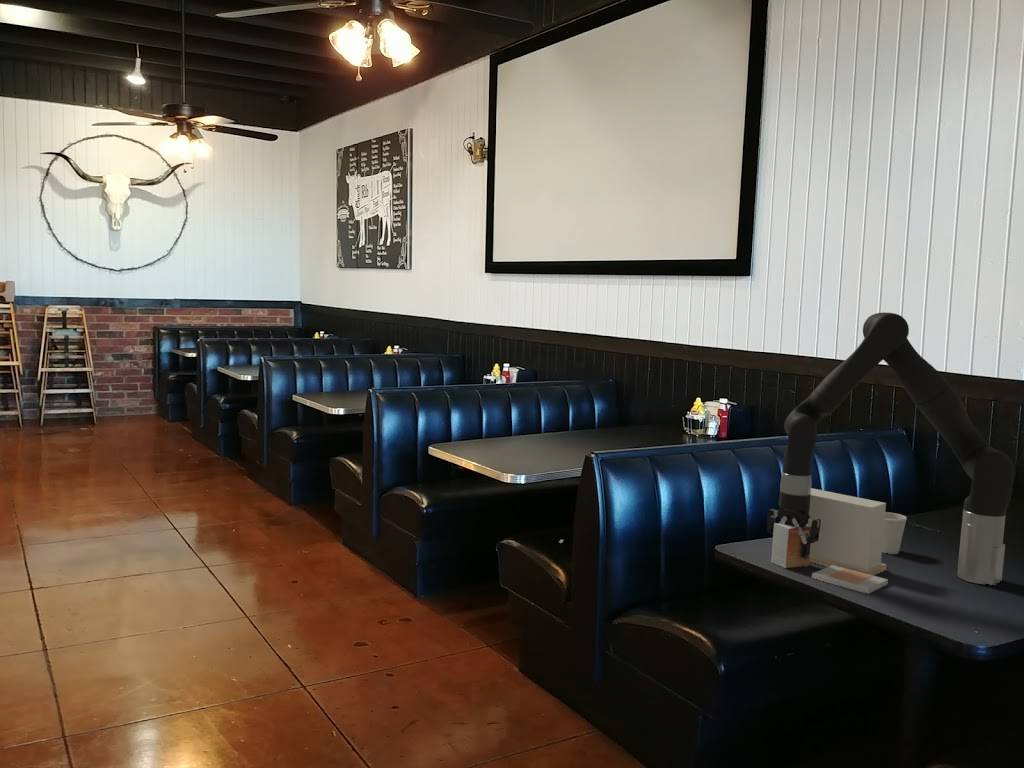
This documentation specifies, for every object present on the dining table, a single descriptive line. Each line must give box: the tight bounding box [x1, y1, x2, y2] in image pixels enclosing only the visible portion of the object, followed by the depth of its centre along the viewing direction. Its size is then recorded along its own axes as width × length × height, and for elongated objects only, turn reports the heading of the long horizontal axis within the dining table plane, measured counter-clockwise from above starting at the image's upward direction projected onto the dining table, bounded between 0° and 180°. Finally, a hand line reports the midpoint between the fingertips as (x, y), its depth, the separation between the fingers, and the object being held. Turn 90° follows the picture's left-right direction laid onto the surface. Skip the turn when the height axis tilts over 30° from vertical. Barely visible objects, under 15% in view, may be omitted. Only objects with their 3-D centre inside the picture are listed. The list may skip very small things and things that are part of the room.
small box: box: [770, 522, 811, 569], centre depth 221 cm, size 8×6×10 cm
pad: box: [811, 565, 889, 595], centre depth 210 cm, size 14×11×1 cm
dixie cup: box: [882, 511, 908, 555], centre depth 237 cm, size 8×8×10 cm
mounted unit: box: [806, 487, 887, 576], centre depth 224 cm, size 24×10×18 cm, turn 44°
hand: (790, 553), depth 221 cm, fingers closed on small box, 6 cm apart
